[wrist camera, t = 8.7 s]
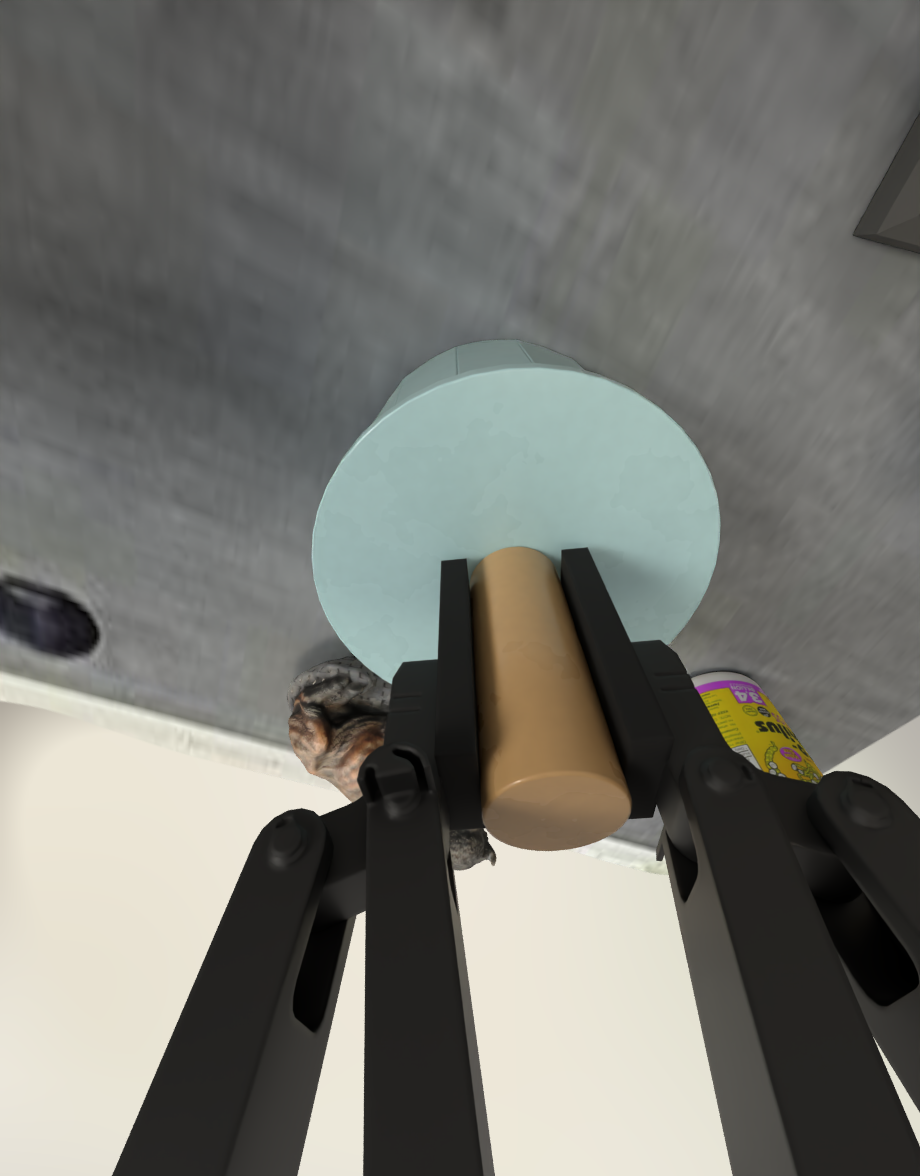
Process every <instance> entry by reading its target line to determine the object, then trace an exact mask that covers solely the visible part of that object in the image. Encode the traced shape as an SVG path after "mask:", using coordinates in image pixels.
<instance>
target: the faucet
mask: <svg viewBox="0 0 920 1176" xmlns="http://www.w3.org/2000/svg"><path fill="white" fill-rule="evenodd" d="M853 235H854V236H858V237H862V238H865V239H869V240H873V241H877V242H880V243H884V244H888V245H891V246H895V247H899V248H902V249H906V250H910V251H913V252H917V253H920V114H919V115H918V117H917V119H916V121H915V123H914V124H913V126H912V128H911V130H910V132H909V134H908V135H907V137H906V139H905V141H904V143H903V144H902V146H901V148H900V150H899V152H898V154H897V155H896V157H895V159H894V161H893V163H892V164H891V166H890V168H889V170H888V172H887V174H886V175H885V177H884V179H883V181H882V183H881V185H880V186H879V188H878V190H877V192H876V194H875V195H874V197H873V199H872V201H871V203H870V205H869V206H868V208H867V210H866V212H865V214H864V215H863V217H862V219H861V221H860V223H859V225H858V226H857V228H856V230H855V232H854V234H853Z"/></svg>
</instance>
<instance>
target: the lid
mask: <svg viewBox="0 0 920 1176" xmlns="http://www.w3.org/2000/svg"><path fill="white" fill-rule="evenodd" d="M720 521H721V519H720V511H719V504H718V497H717V492H716V489H715V486H714V483H713V480H712V477H711V473H710V471H709V469H708V467H707V465H706V463H705V461H704V459H703V457H702V455H701V453H700V452H699V450H698V448H697V447H696V445H695V444H694V443H693V441H692V440H691V439H690V438H689V436H688V435H687V434H686V432H685V431H684V430H683V429H682V427H681V426H680V425H679V424H678V423H676V422H675V421H674V420H673V419H672V418H671V417H670V416H669V415H668V414H666V413H665V412H664V411H663V410H662V409H661V408H660V407H659V406H657V405H656V404H655V403H653V402H652V401H650V400H649V399H647V398H645V397H644V396H642V395H641V394H639V393H638V392H636V391H634V390H633V389H631V388H630V387H628V386H626V385H623V384H621V383H619V382H616V381H614V380H612V379H610V378H607V377H605V376H603V375H600V374H596V373H593V372H589V371H585V370H581V369H577V368H573V367H569V366H560V365H550V364H541V363H526V364H503V365H497V366H492V367H486V368H481V369H475V370H470V371H467V372H464V373H461V374H458V375H455V376H452V377H449V378H446V379H443V380H440V381H438V382H436V383H434V384H432V385H430V386H428V387H426V388H424V389H422V390H419V391H417V392H415V393H413V394H411V395H410V396H408V397H407V398H405V399H404V400H402V401H401V402H399V403H398V404H396V405H395V406H394V407H392V408H391V409H389V410H388V411H386V412H385V413H384V414H382V415H381V416H380V417H379V418H378V419H377V420H376V421H375V422H374V423H373V424H372V425H371V426H369V427H368V428H367V429H366V430H365V431H364V432H363V433H362V434H361V435H360V437H359V438H358V439H357V440H356V441H355V443H354V444H353V445H352V446H351V448H350V449H349V450H348V451H347V453H346V454H345V455H344V457H343V459H342V460H341V462H340V464H339V465H338V467H337V469H336V471H335V472H334V474H333V476H332V477H331V479H330V481H329V483H328V485H327V487H326V490H325V492H324V495H323V497H322V500H321V503H320V505H319V508H318V511H317V516H316V520H315V525H314V529H313V536H312V555H311V557H312V567H313V576H314V582H315V585H316V589H317V593H318V597H319V600H320V603H321V605H322V607H323V610H324V612H325V614H326V616H327V619H328V621H329V622H330V624H331V625H332V627H333V629H334V630H335V632H336V634H337V635H338V637H339V638H340V639H341V641H342V642H343V643H344V644H345V645H346V647H347V648H348V649H349V650H350V652H351V653H352V654H353V655H354V656H355V657H356V658H357V659H359V660H360V661H361V662H362V663H363V664H364V665H365V666H366V667H367V668H369V669H370V670H371V671H373V672H374V673H375V674H377V675H378V676H379V677H381V678H382V679H384V680H385V681H387V682H389V683H390V684H392V679H393V677H394V675H395V673H396V672H397V670H398V669H399V667H400V666H401V664H402V663H403V662H409V661H421V660H433V659H438V635H439V607H440V579H441V561H444V560H455V559H465V558H467V567H468V576H469V585H470V598H471V617H472V636H473V655H474V674H475V692H476V711H477V730H478V749H479V768H480V787H481V813H482V820H483V823H484V825H485V827H486V829H487V831H488V832H489V833H490V834H491V835H492V836H493V837H495V838H496V839H498V840H499V841H501V842H503V843H505V844H508V845H511V846H514V847H517V848H521V849H527V850H536V851H557V850H566V849H573V848H577V847H582V846H585V845H589V844H592V843H595V842H597V841H600V840H602V839H604V838H606V837H608V836H609V835H611V834H613V833H614V832H616V831H617V830H618V829H619V828H621V827H622V826H623V825H624V824H625V822H626V821H627V820H628V818H629V816H630V814H631V810H632V798H631V795H630V792H629V789H628V786H627V783H626V780H625V776H624V773H623V770H622V767H621V764H620V761H619V758H618V755H617V752H616V749H615V746H614V743H613V740H612V737H611V734H610V731H609V728H608V725H607V722H606V719H605V716H604V713H603V710H602V706H601V703H600V700H599V697H598V694H597V691H596V688H595V685H594V682H593V679H592V676H591V673H590V670H589V667H588V664H587V661H586V658H585V655H584V652H583V649H582V646H581V643H580V640H579V637H578V633H577V630H576V627H575V624H574V621H573V618H572V615H571V612H570V609H569V606H568V603H567V600H566V597H565V594H564V591H563V588H562V585H561V582H560V580H561V550H563V549H574V548H585V547H588V549H589V551H590V554H591V556H592V558H593V560H594V562H595V565H596V567H597V569H598V571H599V573H600V576H601V578H602V580H603V582H604V584H605V586H606V589H607V591H608V593H609V595H610V597H611V600H612V602H613V604H614V606H615V608H616V611H617V613H618V615H619V617H620V619H621V622H622V624H623V626H624V628H625V630H626V632H627V635H628V637H629V639H630V641H631V642H638V641H650V640H661V641H662V642H663V643H665V644H666V645H668V644H670V643H671V642H672V640H673V639H674V638H675V637H676V636H677V635H678V633H679V632H680V631H681V630H682V629H683V628H684V626H685V625H686V624H687V622H688V621H689V619H690V618H691V616H692V615H693V613H694V612H695V611H696V609H697V608H698V606H699V604H700V602H701V600H702V598H703V596H704V594H705V592H706V590H707V588H708V586H709V583H710V580H711V577H712V574H713V571H714V568H715V566H716V560H717V555H718V550H719V545H720Z"/></svg>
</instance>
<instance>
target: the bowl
mask: <svg viewBox="0 0 920 1176" xmlns="http://www.w3.org/2000/svg"><path fill="white" fill-rule="evenodd" d="M526 363H541V364H550V365H560V366H569V367H573V368H577V369H581V370H584V369H583V368H582V367H581V366H580V365H579V364H578V363H576V362H575V361H574V360H573V359H571V358H570V357H567V356H564V355H561V354H559V353H556V352H554V351H552V350H549V349H547V348H545V347H542V346H539V345H535V344H531V343H527V342H524V341H521V340H518V339H516V340H515V339H512V340H505V339H504V340H484V341H479V342H473V343H468V344H464V345H460V346H457V347H453V348H452V349H450V350H447V351H445V352H443V353H441V354H439V355H437V356H435V357H433V358H431V359H430V360H428V361H427V362H425V363H424V364H423V365H421V366H420V367H418V368H417V369H416V370H414V371H413V372H412V373H410V374H408V375H407V376H406V377H404V379H403V380H402V381H401V383H400V384H399V386H398V387H397V389H396V390H395V391H394V392H393V394H392V395H391V396H390V398H389V399H388V401H387V403H386V404H385V406H384V407H383V409H382V410H381V412H380V413H379V415H378V416H377V418H376V419H375V420H374V422H375V421H376V420H377V419H378V418H379V417H380V416H381V415H382V414H384V413H385V412H386V411H388V410H389V409H391V408H392V407H394V406H395V405H396V404H398V403H399V402H401V401H402V400H404V399H405V398H407V397H408V396H410V395H411V394H413V393H415V392H417V391H419V390H422V389H424V388H426V387H428V386H430V385H432V384H434V383H436V382H438V381H440V380H443V379H446V378H449V377H452V376H455V375H458V374H461V373H464V372H467V371H470V370H475V369H481V368H486V367H492V366H497V365H503V364H526ZM374 422H373V423H374Z"/></svg>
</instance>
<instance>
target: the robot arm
mask: <svg viewBox="0 0 920 1176" xmlns="http://www.w3.org/2000/svg"><path fill="white" fill-rule="evenodd" d="M560 582H561V585H562V588H563V591H564V594H565V597H566V600H567V603H568V606H569V609H570V612H571V615H572V618H573V621H574V624H575V627H576V630H577V633H578V637H579V640H580V643H581V646H582V649H583V652H584V655H585V658H586V661H587V664H588V667H589V670H590V673H591V676H592V679H593V682H594V685H595V688H596V691H597V694H598V697H599V700H600V703H601V706H602V710H603V713H604V716H605V719H606V722H607V725H608V728H609V731H610V734H611V737H612V740H613V743H614V746H615V749H616V752H617V755H618V758H619V761H620V764H621V767H622V770H623V773H624V776H625V780H626V783H627V786H628V789H629V792H630V795H631V798H632V810H631V814H630V816H629V818H628V819H637V818H652V817H653V815H654V811H655V807H656V804H657V806H658V809H659V812H660V815H661V817H662V820H663V823H664V827H663V830H662V833H661V836H660V839H659V843H658V846H657V849H656V861H662V860H663V857H664V855H665V859H666V864H667V869H668V873H669V878H670V883H671V888H672V892H673V897H674V902H675V906H676V911H677V916H678V920H679V925H680V930H681V935H682V939H683V944H684V948H685V953H686V958H687V963H688V967H689V972H690V977H691V982H692V986H693V990H694V996H695V1000H696V1005H697V1010H698V1015H699V1019H700V1024H701V1028H702V1033H703V1038H704V1043H705V1047H706V1052H707V1057H708V1061H709V1066H710V1071H711V1075H712V1080H713V1085H714V1089H715V1094H716V1099H717V1104H718V1108H719V1113H720V1118H721V1123H722V1127H723V1132H724V1136H725V1141H726V1146H727V1150H728V1156H729V1160H730V1165H731V1170H732V1174H733V1176H920V1146H919V1143H918V1141H917V1139H916V1137H915V1134H914V1132H913V1129H912V1127H911V1125H910V1122H909V1120H908V1118H907V1116H906V1113H905V1111H904V1108H903V1106H902V1104H901V1101H900V1099H899V1097H898V1094H897V1092H896V1089H895V1087H894V1085H893V1082H892V1080H891V1078H890V1075H889V1074H888V1071H887V1068H886V1066H885V1064H884V1062H883V1059H882V1057H881V1055H880V1052H879V1050H878V1047H877V1045H876V1043H875V1040H876V1042H877V1043H878V1045H879V1047H880V1048H881V1050H882V1052H883V1053H884V1055H885V1056H886V1058H887V1060H888V1061H889V1063H890V1065H891V1066H892V1068H893V1069H894V1071H895V1073H896V1074H897V1076H898V1078H899V1079H900V1081H901V1082H902V1084H903V1086H904V1087H905V1089H906V1091H907V1092H908V1094H909V1096H910V1097H911V1099H912V1100H913V1102H914V1104H915V1105H916V1107H917V1108H918V1110H919V1112H920V818H919V817H918V816H917V815H916V814H915V813H914V812H913V811H912V810H911V809H910V808H909V807H908V805H906V803H905V802H904V801H903V800H902V799H901V798H899V797H898V796H897V795H896V794H895V793H893V792H892V791H891V790H890V789H889V788H888V787H886V786H884V785H882V784H881V783H879V782H877V781H875V780H873V779H871V778H870V777H867V776H864V775H861V774H857V773H854V772H849V771H834V772H831V773H829V774H826V775H824V776H823V777H822V778H821V780H820V781H819V783H818V784H815V783H811V782H806V781H801V780H797V779H792V778H787V777H783V776H778V775H774V774H771V773H768V772H764V771H762V770H760V769H758V768H756V767H755V766H754V765H753V764H752V763H751V762H750V761H749V760H747V759H746V758H745V757H744V756H743V755H741V754H739V753H737V752H735V751H733V750H732V749H731V748H730V746H729V745H728V744H727V742H726V741H725V739H724V737H723V735H722V734H721V732H720V730H719V728H718V726H717V725H716V723H715V721H714V719H713V717H712V716H711V714H710V712H709V710H708V708H707V707H706V705H705V703H704V701H703V700H702V698H701V696H700V694H699V692H698V691H697V689H695V687H694V683H693V682H692V680H691V678H690V676H689V674H687V672H686V669H685V667H684V665H683V664H682V662H681V660H680V658H679V657H678V655H677V653H675V652H674V651H673V650H672V649H671V648H669V647H668V646H667V645H666V644H665V643H663V642H662V641H661V640H650V641H638V642H631V641H630V639H629V637H628V635H627V632H626V630H625V628H624V626H623V624H622V622H621V619H620V617H619V615H618V613H617V611H616V608H615V606H614V604H613V602H612V600H611V597H610V595H609V593H608V591H607V589H606V586H605V584H604V582H603V580H602V578H601V576H600V573H599V571H598V569H597V567H596V565H595V562H594V560H593V558H592V556H591V554H590V551H589V549H588V547H585V548H574V549H563V550H561V580H560ZM357 783H358V785H359V787H360V790H361V792H362V795H363V796H361V797H360V798H359V799H358V800H356V801H354V802H352V803H351V804H349V805H347V806H344V807H342V808H339V809H337V810H334V811H332V812H329V813H327V814H324V815H321V816H318V815H317V814H316V813H315V812H314V811H311V810H307V809H302V808H301V809H295V810H289V811H286V812H284V813H283V814H281V815H279V816H277V817H275V818H274V819H273V820H271V821H270V822H269V823H268V824H267V825H266V826H265V827H264V828H263V829H262V831H261V832H260V834H259V836H258V837H257V839H256V840H255V842H254V844H253V846H252V849H251V851H250V853H249V856H248V858H247V861H246V863H245V865H244V868H243V870H242V872H241V874H240V877H239V879H238V882H237V884H236V886H235V888H234V891H233V893H232V896H231V898H230V900H229V903H228V905H227V907H226V910H225V912H224V914H223V917H222V919H221V921H220V924H219V926H218V928H217V931H216V933H215V935H214V938H213V940H212V942H211V945H210V947H209V950H208V952H207V955H206V957H205V959H204V961H203V964H202V966H201V969H200V971H199V973H198V975H197V978H196V980H195V983H194V985H193V987H192V989H191V992H190V994H189V997H188V999H187V1001H186V1004H185V1006H184V1008H183V1010H182V1013H181V1015H180V1018H179V1020H178V1022H177V1025H176V1027H175V1029H174V1032H173V1034H172V1036H171V1039H170V1041H169V1043H168V1046H167V1048H166V1050H165V1053H164V1056H163V1058H162V1060H161V1062H160V1064H159V1067H158V1069H157V1072H156V1074H155V1076H154V1079H153V1081H152V1083H151V1086H150V1088H149V1090H148V1093H147V1095H146V1098H145V1100H144V1102H143V1105H142V1107H141V1109H140V1111H139V1114H138V1116H137V1118H136V1121H135V1123H134V1125H133V1128H132V1130H131V1133H130V1136H129V1137H128V1140H127V1142H126V1144H125V1147H124V1149H123V1152H122V1154H121V1156H120V1159H119V1161H118V1163H117V1165H116V1168H115V1170H114V1172H113V1175H112V1176H297V1174H298V1170H299V1166H300V1161H301V1157H302V1152H303V1148H304V1143H305V1139H306V1135H307V1130H308V1126H309V1122H310V1117H311V1113H312V1108H313V1104H314V1100H315V1095H316V1091H317V1086H318V1082H319V1077H320V1073H321V1069H322V1064H323V1060H324V1055H325V1051H326V1047H327V1042H328V1038H329V1034H330V1029H331V1025H332V1020H333V1016H334V1012H335V1007H336V1003H337V998H338V994H339V990H340V985H341V981H342V976H343V972H344V967H345V963H346V959H347V954H348V949H349V946H350V941H351V936H352V932H353V928H354V923H355V919H356V915H357V914H360V913H362V912H364V911H366V940H365V945H366V946H365V947H366V948H365V1048H364V1052H365V1053H364V1156H363V1158H364V1159H363V1163H364V1164H363V1176H495V1173H494V1167H493V1158H492V1151H491V1143H490V1137H489V1129H488V1121H487V1114H486V1106H485V1099H484V1091H483V1084H482V1077H481V1070H480V1062H479V1054H478V1047H477V1040H476V1032H475V1025H474V1017H473V1010H472V1002H471V995H470V987H469V981H468V973H467V966H466V958H465V950H464V943H463V935H462V928H461V921H460V913H459V906H458V898H457V891H456V885H455V876H454V869H453V861H452V855H451V851H450V846H449V824H450V829H451V830H465V829H481V828H486V827H485V825H484V823H483V820H482V813H481V787H480V768H479V749H478V730H477V711H476V692H475V674H474V655H473V636H472V617H471V598H470V585H469V576H468V567H467V558H465V559H455V560H444V561H441V579H440V607H439V635H438V659H433V660H421V661H409V662H403V663H402V664H401V666H400V667H399V669H398V670H397V672H396V673H395V675H394V677H393V679H392V686H391V694H390V701H389V708H388V715H387V722H386V729H385V736H384V744H383V745H382V746H380V747H378V748H377V749H375V750H374V751H373V752H372V753H370V754H369V755H368V756H367V757H366V759H365V760H364V762H363V763H362V765H361V766H360V768H359V772H358V777H357ZM872 1035H873V1036H872ZM873 1037H874V1038H875V1040H874V1038H873Z"/></svg>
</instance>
